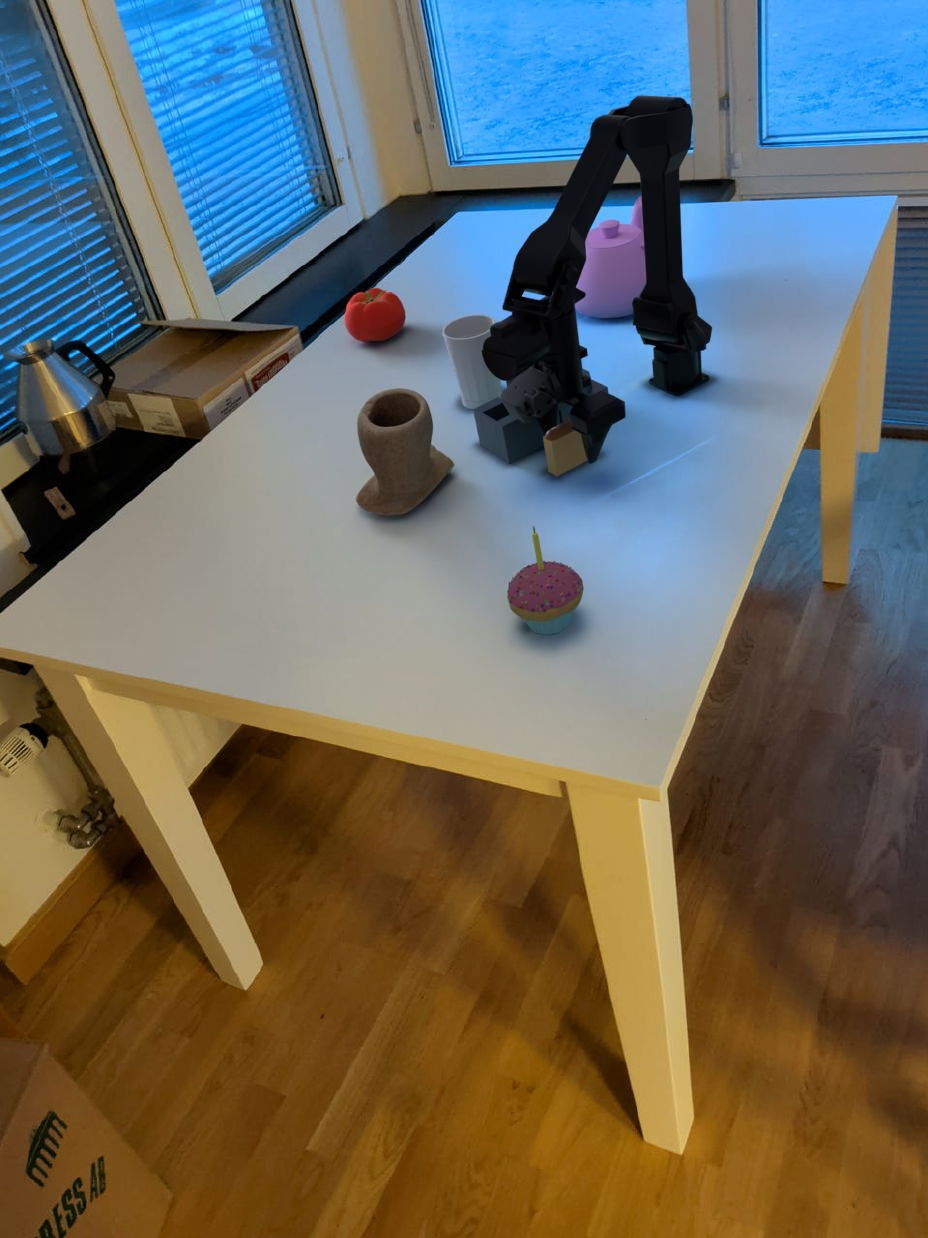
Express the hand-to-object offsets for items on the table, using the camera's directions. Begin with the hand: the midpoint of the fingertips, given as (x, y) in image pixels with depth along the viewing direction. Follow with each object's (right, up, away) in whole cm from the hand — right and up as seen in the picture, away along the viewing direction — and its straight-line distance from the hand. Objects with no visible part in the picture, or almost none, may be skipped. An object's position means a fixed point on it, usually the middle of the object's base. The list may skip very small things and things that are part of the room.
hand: (571, 450), depth 143 cm
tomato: (-29, +28, +45) cm, 61 cm away
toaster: (-6, +3, +8) cm, 11 cm away
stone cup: (-21, -5, +3) cm, 22 cm away
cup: (-12, +11, +20) cm, 26 cm away
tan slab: (0, -2, +1) cm, 2 cm away
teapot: (+13, +32, +39) cm, 52 cm away
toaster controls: (+1, +7, +11) cm, 13 cm away
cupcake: (-5, -23, -23) cm, 33 cm away
